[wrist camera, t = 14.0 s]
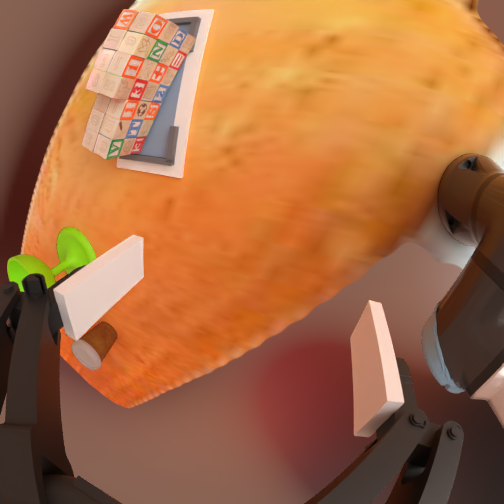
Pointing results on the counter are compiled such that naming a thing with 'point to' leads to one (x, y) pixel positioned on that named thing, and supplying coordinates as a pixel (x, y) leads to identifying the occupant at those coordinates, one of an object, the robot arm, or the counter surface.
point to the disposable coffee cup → (94, 345)
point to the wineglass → (69, 252)
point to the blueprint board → (174, 105)
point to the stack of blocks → (132, 81)
